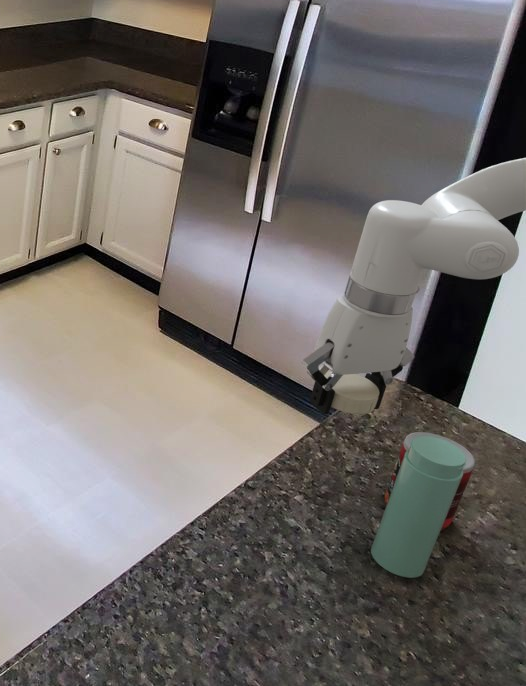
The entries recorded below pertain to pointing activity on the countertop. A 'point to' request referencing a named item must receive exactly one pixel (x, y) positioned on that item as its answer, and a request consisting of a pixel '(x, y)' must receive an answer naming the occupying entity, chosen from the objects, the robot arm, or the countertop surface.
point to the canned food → (463, 483)
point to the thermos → (418, 506)
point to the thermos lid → (354, 394)
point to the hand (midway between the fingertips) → (343, 405)
